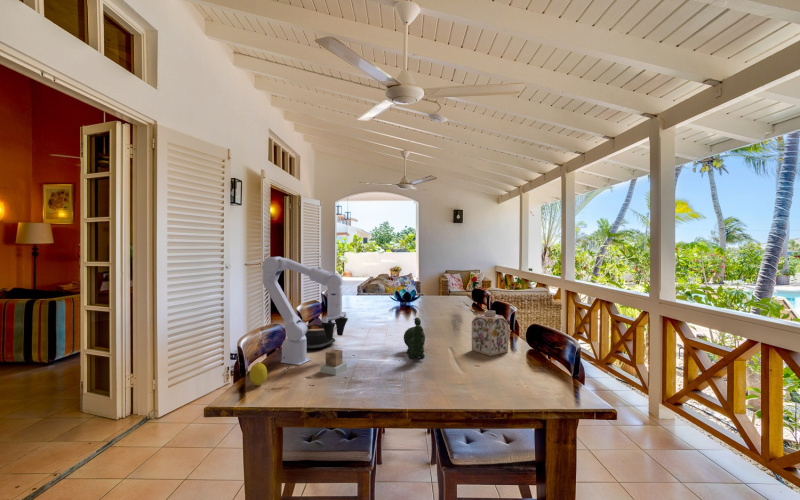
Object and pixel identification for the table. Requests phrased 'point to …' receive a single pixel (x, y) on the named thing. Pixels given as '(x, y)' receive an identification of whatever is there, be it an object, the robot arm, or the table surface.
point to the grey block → (333, 369)
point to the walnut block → (334, 358)
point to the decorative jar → (490, 334)
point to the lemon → (258, 373)
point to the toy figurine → (415, 340)
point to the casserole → (317, 336)
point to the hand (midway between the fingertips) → (334, 337)
